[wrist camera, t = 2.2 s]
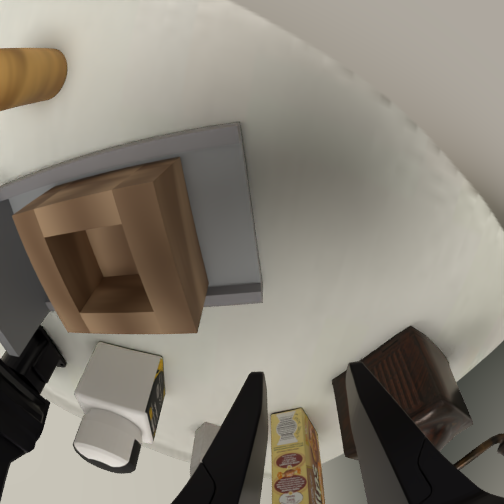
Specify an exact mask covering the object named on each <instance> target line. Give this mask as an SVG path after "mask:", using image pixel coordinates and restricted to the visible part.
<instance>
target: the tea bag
mask: <svg viewBox="0 0 504 504" xmlns="http://www.w3.org/2000/svg"><path fill="white" fill-rule="evenodd" d="M220 427H221V426H217V425H214V424H210V423H207V422H205V423H204V424H203V425H202V426H201V427H199V428H198V429H197V430H196V432H195V438H194V445H193V451H192V458H191V465H190V474H191V475H190V476H192V475H193V473H194V472H195V470H196V469H197V467H198V465H199V463H200V462H202V459H203V457H204V455H205V453H206V452H207V450H208V448H209V447H210V445H211V443H212V441H213V440H214V438H215V436H216V434H217V433H218V431H219V429H220Z"/></svg>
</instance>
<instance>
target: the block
mask: <svg viewBox="0 0 504 504" xmlns="http://www.w3.org/2000/svg"><path fill="white" fill-rule="evenodd" d="M12 218H13V220H14V223H15V226H16V228H17V231H18V233H19V236H20V238H21V241H22V243H23V245H24V248H25V250H26V252H27V255H28V257H29V259H30V261H31V264H32V266H33V268H34V270H35V272H36V274H37V276H38V278H39V280H40V282H41V284H42V286H43V288H44V290H45V292H46V294H47V296H48V298H49V300H50V302H51V303H52V305H53V307H54V309H55V311H56V312H57V314H58V316H59V318H60V319H61V321H62V323H63V325H64V326H65V328H66V330H67V331H68V332H73V333H99V334H183V333H197V332H198V327H199V323H200V319H201V315H202V310H203V306H204V302H205V298H206V293H207V289H208V285H209V282H208V278H207V274H206V270H205V266H204V262H203V258H202V254H201V250H200V245H199V241H198V237H197V233H196V228H195V224H194V220H193V215H192V211H191V206H190V202H189V197H188V192H187V188H186V183H185V178H184V174H183V169H182V164H181V159H180V157H175V158H170V159H165V160H160V161H155V162H150V163H145V164H140V165H136V166H131V167H127V168H122V169H118V170H114V171H110V172H106V173H102V174H98V175H94V176H90V177H86V178H82V179H79V180H75V181H72V182H68V183H65V184H61V185H58V186H55V187H53V188H51V189H50V190H48V191H47V192H45V193H44V194H42V195H41V196H39V197H38V198H36V199H35V200H33V201H32V202H30V203H29V204H27V205H26V206H25V207H23V208H22V209H20V210H19V211H18V212H16V213H15V214H13V215H12Z"/></svg>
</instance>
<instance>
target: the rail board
mask: <svg viewBox="0 0 504 504" xmlns="http://www.w3.org/2000/svg"><path fill="white" fill-rule="evenodd" d="M175 157H180V159H181V164H182V169H183V174H184V178H185V183H186V188H187V192H188V197H189V202H190V206H191V211H192V215H193V220H194V224H195V228H196V233H197V237H198V241H199V245H200V250H201V254H202V258H203V262H204V266H205V270H206V274H207V278H208V282H209V285H208V289H207V293H206V298H205V302H204V306H203V307H211V306H226V305H240V304H253V303H263V285H262V277H261V270H260V263H259V256H258V248H257V241H256V234H255V227H254V220H253V212H252V205H251V198H250V191H249V184H248V177H247V170H246V163H245V156H244V149H243V142H242V135H241V128H240V122H236V123H229V124H222V125H215V126H209V127H203V128H197V129H192V130H186V131H181V132H176V133H171V134H166V135H162V136H157V137H153V138H148V139H144V140H140V141H135V142H131V143H127V144H124V145H120V146H116V147H112V148H109V149H105V150H101V151H98V152H95V153H91V154H88V155H85V156H81V157H78V158H75V159H72V160H69V161H66V162H63V163H60V164H57V165H54V166H51V167H48V168H45V169H43V170H40V171H37V172H35V173H32V174H29V175H27V176H24V177H22V178H19V179H17V180H14V181H12V182H9V183H7V184H5V185H2V186H1V187H0V343H1V344H2V345H3V347H4V348H5V350H6V351H7V352H8V354H9V355H12V356H17V357H19V356H20V355H21V353H22V352H23V350H24V348H25V347H26V345H27V344H28V342H29V341H30V339H31V338H32V336H33V335H34V333H35V332H36V330H37V329H38V327H39V326H40V324H41V323H42V321H43V320H44V318H45V317H46V316H47V314H48V313H49V311H55V309H54V307H53V305H52V303H51V302H50V300H49V298H48V296H47V294H46V292H45V290H44V288H43V286H42V284H41V282H40V280H39V278H38V276H37V274H36V272H35V270H34V268H33V266H32V264H31V261H30V259H29V257H28V255H27V252H26V250H25V248H24V245H23V243H22V241H21V238H20V236H19V233H18V231H17V228H16V226H15V223H14V220H13V218H12V215H13V214H15V213H16V212H18V211H19V210H20V209H22V208H23V207H25V206H26V205H27V204H29V203H30V202H32V201H33V200H35V199H36V198H38V197H39V196H41V195H42V194H44V193H45V192H47V191H48V190H50V189H51V188H53V187H55V186H58V185H61V184H65V183H68V182H72V181H75V180H79V179H82V178H86V177H90V176H94V175H98V174H102V173H106V172H110V171H114V170H118V169H122V168H127V167H131V166H136V165H140V164H145V163H150V162H155V161H160V160H165V159H170V158H175Z"/></svg>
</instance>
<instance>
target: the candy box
mask: <svg viewBox="0 0 504 504" xmlns="http://www.w3.org/2000/svg"><path fill="white" fill-rule="evenodd" d="M271 450H272V504H325V499H324V488H323V477H322V468H321V460H320V451H319V442H318V434H317V432H316V431H315V429H314V427H313V426H312V424H311V422H310V421H309V419H308V417H307V416H306V414H305V413H304V411H303V410H302V408H299V409H295V410H291V411H286V412H282V413H277V414H272V415H271Z"/></svg>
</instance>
